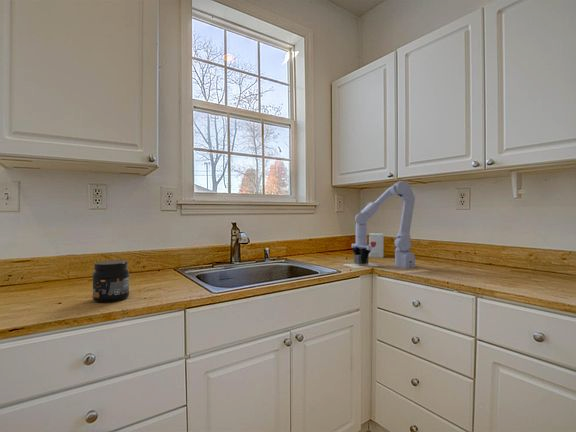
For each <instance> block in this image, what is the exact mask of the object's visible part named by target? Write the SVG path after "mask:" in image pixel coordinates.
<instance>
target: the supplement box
mask: <svg viewBox="0 0 576 432" xmlns="http://www.w3.org/2000/svg"><path fill="white" fill-rule="evenodd" d="M384 236H385V234H384V233H381V232H378V233H377V232H375V233H374V232H373V233H372V232H370V233H369V236H368V245H369V246H372V250H370V253H369V255H368V258H383V259H384V250H385V249H384V248H385V246H384V245H385V242H384V239H385V237H384Z"/></svg>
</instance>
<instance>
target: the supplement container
mask: <svg viewBox="0 0 576 432" xmlns="http://www.w3.org/2000/svg"><path fill="white" fill-rule="evenodd" d="M128 262H129V261H127V260H123V259H122V260H121V259H120V260H119V259H118V260H117V259H116V260H104V261H103V260H102V261H97V262H94V263H93V270H94V272H93V273H92V275H91V278H92V300H93V302H95V303H100V304H101V303H102V304H107V303H115V302H120V301H123V300H125V299H127V298H128V297H129V295H130V270H129V269H128V266H129V265H128V264H129V263H128Z"/></svg>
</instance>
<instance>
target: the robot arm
mask: <svg viewBox="0 0 576 432" xmlns="http://www.w3.org/2000/svg"><path fill="white" fill-rule="evenodd" d="M395 195H397V196H398V197H400V198H401V199H402V201H403V205H402V212H401V217H400V223H399V229H398V233H397V236H396V237H395V239H394V242H393V244H394V246H395V249H394V266H395V267H398V268H404V269H410V268H413V269H414V268H416V255H415V254H414V253H413V252H411V247H412V242H411V233H410V232H411V225H412V220H413V213H414V207H415V199H416V197H415V195H414V191H413V189H412V186H411V185H410V183H408V182H407V181H406V180H400V181H398V182H395V183H393V185H391V186H390V187H388V188H386V190H385V191H383V193H382V194H380V196H379V197H378V198H377V199H376V200H375V201H374V202H373V201H371V202H370V201H369V202H367V204H366V206H365V207H364V208H363V209H361V210H359V213H357V214H356V215H355V218H354V221H355V243H351V248H352V252H353V255H361V261H362V263H366V261H367V257H368V258H369V253H370V250H372V246H369V244H368V227H367V223H368V221H369V219H371V218H372V217H373V216H374V215H376V213H377V212H378V211H379V210H380V209H379V208H380V206H381V205H382V204H383V203H385V201H387V200H388V199H389V198H390V197H393V196H395Z"/></svg>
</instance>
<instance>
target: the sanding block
mask: <svg viewBox="0 0 576 432" xmlns="http://www.w3.org/2000/svg"><path fill="white" fill-rule="evenodd" d="M353 255H354V256H353V264H354V265H358V266H362V265H368V263H369V256H368V257H367V261H366V263H362V261H361V255H355V254H353Z"/></svg>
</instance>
